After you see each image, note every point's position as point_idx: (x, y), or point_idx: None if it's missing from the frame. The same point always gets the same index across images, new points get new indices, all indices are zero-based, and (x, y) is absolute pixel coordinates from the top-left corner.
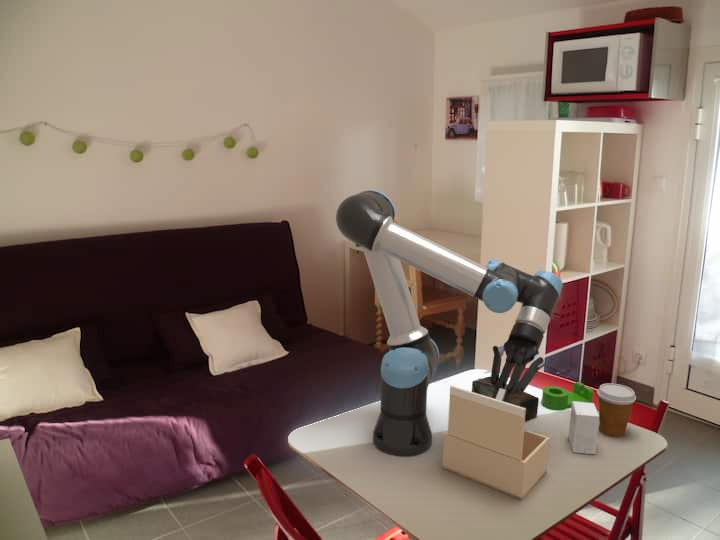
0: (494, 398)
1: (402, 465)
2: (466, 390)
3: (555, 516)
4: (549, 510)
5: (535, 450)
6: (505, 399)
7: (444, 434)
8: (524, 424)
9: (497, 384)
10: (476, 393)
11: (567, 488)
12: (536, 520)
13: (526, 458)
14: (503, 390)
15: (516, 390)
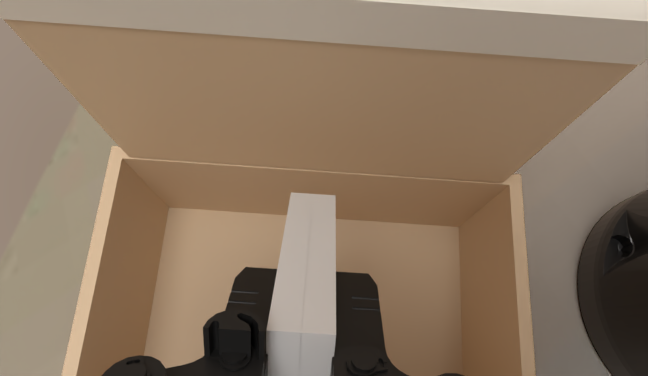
0: (353, 286)
1: (575, 158)
2: (531, 9)
3: (48, 180)
4: (70, 199)
5: (89, 280)
6: (254, 293)
7: (516, 174)
8: (37, 55)
9: (378, 364)
10: (430, 2)
11: (28, 368)
12: (98, 131)
13: (113, 184)
14: (288, 324)
15: (148, 364)
